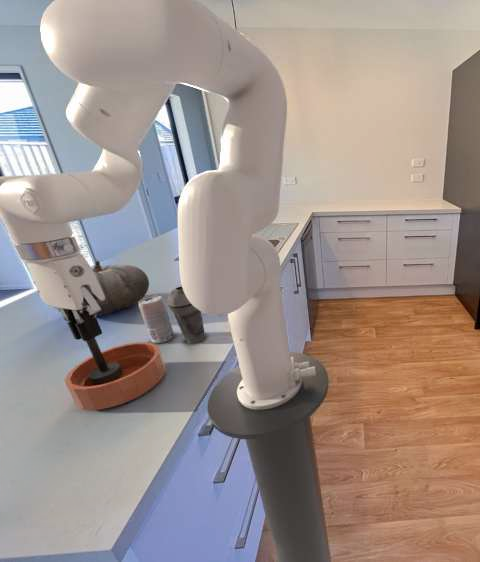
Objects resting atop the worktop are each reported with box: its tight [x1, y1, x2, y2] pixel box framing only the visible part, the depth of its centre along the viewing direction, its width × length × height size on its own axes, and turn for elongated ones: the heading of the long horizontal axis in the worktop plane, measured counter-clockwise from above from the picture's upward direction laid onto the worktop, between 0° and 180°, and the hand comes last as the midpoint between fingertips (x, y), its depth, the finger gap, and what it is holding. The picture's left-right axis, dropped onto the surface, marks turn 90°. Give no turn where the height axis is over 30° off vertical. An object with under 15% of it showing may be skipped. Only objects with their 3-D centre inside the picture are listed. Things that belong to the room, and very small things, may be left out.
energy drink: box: [138, 295, 175, 344], centre depth 81 cm, size 5×5×12 cm
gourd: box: [83, 259, 150, 317], centre depth 99 cm, size 25×25×17 cm
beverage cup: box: [167, 285, 206, 345], centre depth 79 cm, size 7×7×20 cm
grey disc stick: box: [77, 312, 123, 386], centre depth 61 cm, size 5×5×16 cm
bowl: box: [64, 341, 167, 411], centre depth 65 cm, size 16×16×6 cm
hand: (89, 336), depth 60 cm, fingers closed on grey disc stick, 1 cm apart
